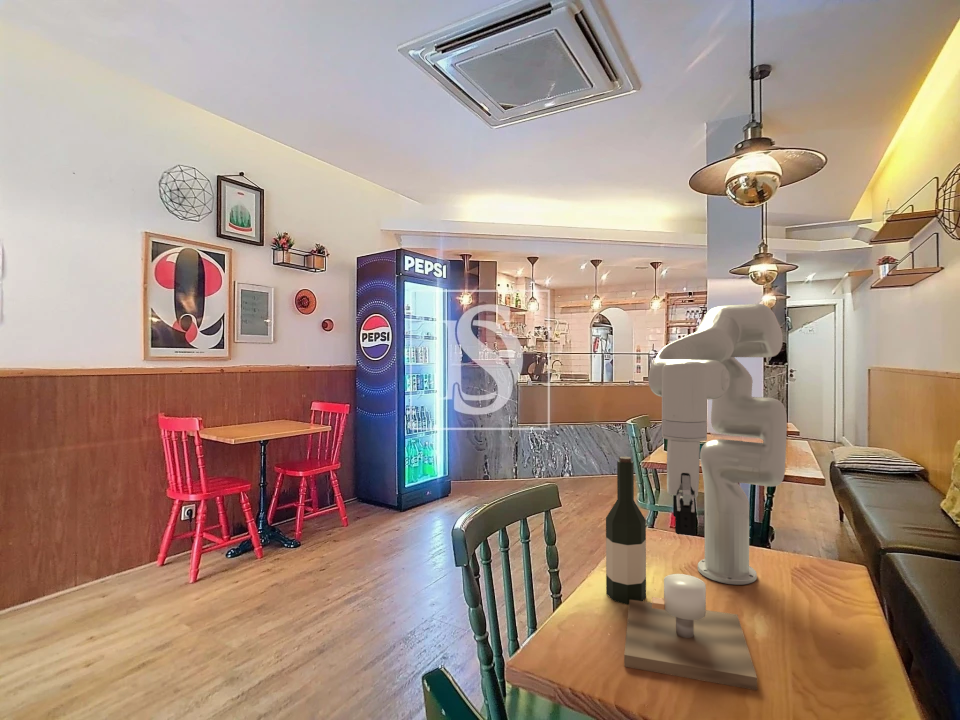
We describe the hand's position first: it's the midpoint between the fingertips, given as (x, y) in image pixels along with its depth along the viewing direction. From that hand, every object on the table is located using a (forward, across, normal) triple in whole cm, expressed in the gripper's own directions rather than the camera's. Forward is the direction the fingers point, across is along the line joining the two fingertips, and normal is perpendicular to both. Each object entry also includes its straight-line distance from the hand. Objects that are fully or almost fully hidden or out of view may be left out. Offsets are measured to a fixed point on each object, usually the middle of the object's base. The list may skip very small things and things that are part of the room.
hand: (683, 525), depth 93 cm
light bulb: (+16, -1, -1) cm, 16 cm away
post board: (+22, -1, 0) cm, 22 cm away
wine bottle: (+22, -17, -11) cm, 30 cm away
